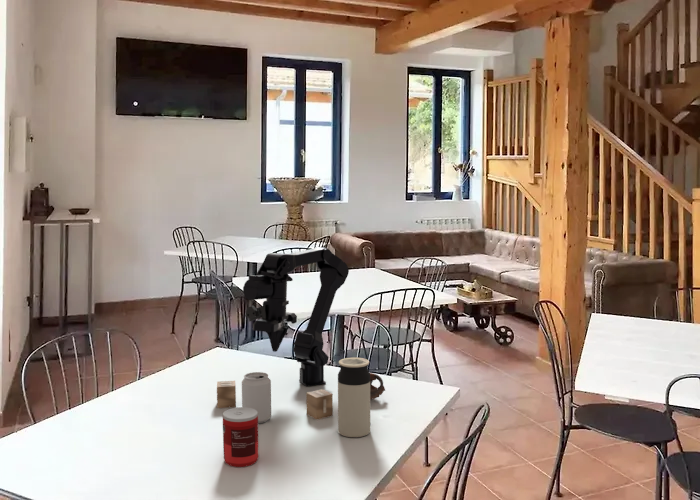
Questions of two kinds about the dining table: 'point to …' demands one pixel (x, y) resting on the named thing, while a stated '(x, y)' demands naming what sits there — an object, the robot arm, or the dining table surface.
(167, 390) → the dining table surface
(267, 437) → the dining table surface
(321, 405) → the marked block 2
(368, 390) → the travel mug
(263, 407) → the can
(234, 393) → the marked block 1
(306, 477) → the dining table surface
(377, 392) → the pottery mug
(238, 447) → the canned food
